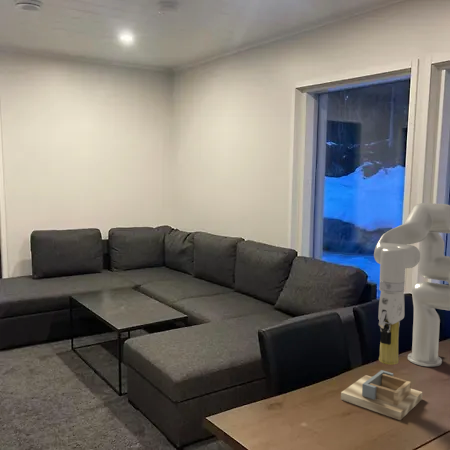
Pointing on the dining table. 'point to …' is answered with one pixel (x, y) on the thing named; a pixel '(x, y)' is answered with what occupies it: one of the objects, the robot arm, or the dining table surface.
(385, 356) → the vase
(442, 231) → the robot arm
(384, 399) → the board
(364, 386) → the grey bracket
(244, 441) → the dining table surface
